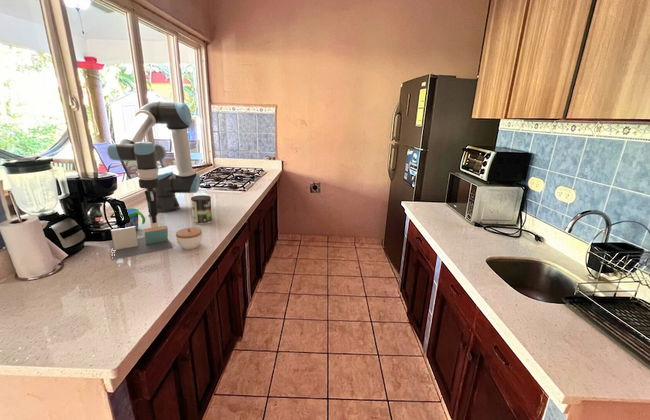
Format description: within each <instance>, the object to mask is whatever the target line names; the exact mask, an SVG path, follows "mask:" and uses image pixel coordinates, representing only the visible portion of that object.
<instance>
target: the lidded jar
mask: <svg viewBox="0 0 650 420" xmlns="http://www.w3.org/2000/svg"><path fill="white" fill-rule="evenodd" d="M175 236H176V242H177V244H178V246H179V247H180V248H182V249H184V250H193V249H196V248H198V247H199V246H200V245H201V244H202V240H203V230H202V229H201V228H199V227H185V228H182V229H179V230H177V231H176V232H175Z"/></svg>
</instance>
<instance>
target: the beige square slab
mask: <svg viewBox="0 0 650 420" xmlns="http://www.w3.org/2000/svg"><path fill="white" fill-rule="evenodd" d="M168 229H169V228H168V225H161V226H158V227H153V228H151V227H148V228H144V229H143V230H144V237H145V243H146V245H147V244H153V243H158V242H164V241H168V240H169V238H168V237H169V233H168V232H169V230H168Z"/></svg>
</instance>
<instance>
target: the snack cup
mask: <svg viewBox="0 0 650 420" xmlns="http://www.w3.org/2000/svg"><path fill="white" fill-rule="evenodd" d="M126 209H127V212H128V216H129V218H130V222H129V223H127V224H125V227H132V226H135V227H136V231H137V230H138V229H139V216H140V217H141V221H142V222H141V224H142V225H144V224H145V223H146V217H145V216H144V214H143V213H142V212H141V211H140V210H139V209H138V208H132V207H131V208H126ZM113 215H114V212H113V213H111V215H110V217H111V216H113ZM120 216H121V217H122V218H123V215H122V214H121V212H120ZM113 217H114V216H113Z"/></svg>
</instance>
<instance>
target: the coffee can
mask: <svg viewBox="0 0 650 420" xmlns="http://www.w3.org/2000/svg"><path fill="white" fill-rule="evenodd" d="M211 200H212V196H210V195H205V194H201V195H194V196H192V197H190V201H191V202H190V203H191V211H192V212H191V213H192V223H193V224H195V225H207V224H210V223H212V222H213V211H212V201H211Z"/></svg>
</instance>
